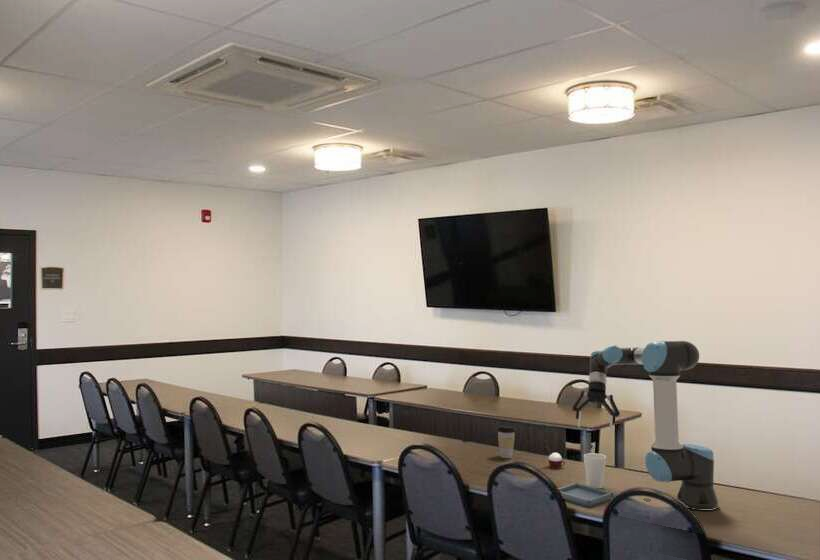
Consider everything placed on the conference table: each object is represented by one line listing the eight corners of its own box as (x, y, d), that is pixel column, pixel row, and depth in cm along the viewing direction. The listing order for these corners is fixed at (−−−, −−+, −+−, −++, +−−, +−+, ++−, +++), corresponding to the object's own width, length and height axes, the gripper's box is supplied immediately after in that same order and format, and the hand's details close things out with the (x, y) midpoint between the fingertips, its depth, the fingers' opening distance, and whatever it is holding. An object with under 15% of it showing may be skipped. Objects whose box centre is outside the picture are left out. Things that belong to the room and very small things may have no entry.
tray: (613, 499, 276) (613, 493, 276) (589, 507, 266) (589, 501, 266) (576, 488, 290) (576, 482, 290) (552, 496, 280) (552, 490, 280)
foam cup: (604, 483, 298) (604, 453, 297) (608, 489, 288) (608, 459, 288) (581, 482, 298) (582, 453, 298) (585, 489, 289) (585, 458, 289)
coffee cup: (495, 458, 338) (495, 428, 338) (498, 453, 347) (498, 424, 347) (514, 459, 336) (514, 429, 336) (517, 455, 345) (517, 425, 345)
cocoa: (566, 468, 322) (567, 443, 322) (557, 470, 318) (559, 444, 318) (550, 463, 329) (551, 438, 329) (541, 465, 325) (543, 440, 325)
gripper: (624, 390, 310) (623, 435, 300) (568, 383, 315) (565, 427, 304) (627, 384, 304) (625, 429, 293) (570, 376, 309) (566, 421, 298)
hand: (594, 428), depth 299 cm, fingers open, 13 cm apart
